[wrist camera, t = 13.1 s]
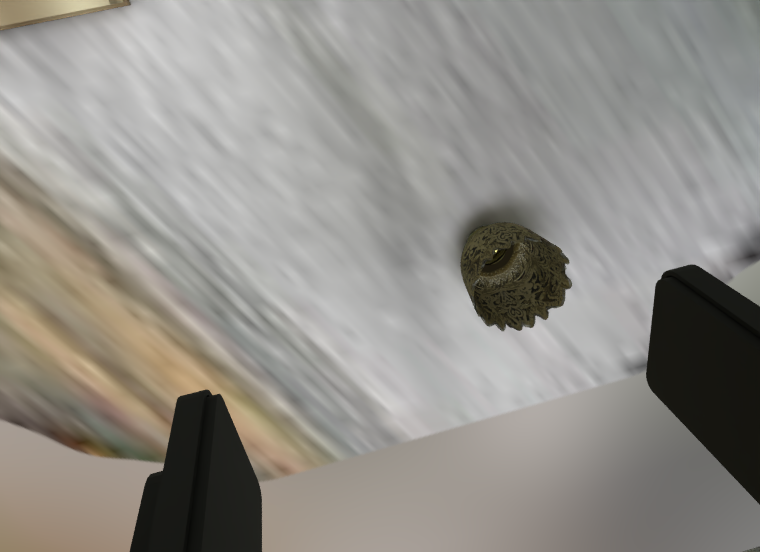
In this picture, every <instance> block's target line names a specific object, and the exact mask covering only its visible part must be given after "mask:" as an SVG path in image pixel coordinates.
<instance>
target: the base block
mask: <svg viewBox="0 0 760 552" xmlns="http://www.w3.org/2000/svg"><path fill="white" fill-rule="evenodd" d="M128 5H130V2H129V0H0V30H5V29H11V28H16V27H21V26H26V25H31V24H36V23H41V22H46V21H51V20H56V19H61V18H67V17H72V16H77V15H82V14H87V13H92V12H97V11H102V10H107V9H112V8H117V7H122V6H128Z"/></svg>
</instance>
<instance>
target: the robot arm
mask: <svg viewBox="0 0 760 552" xmlns="http://www.w3.org/2000/svg"><path fill="white" fill-rule="evenodd" d="M646 378H647V382H648V385H649V387H650V389H651V390H652V391H653V393H655V395H656V396H657V397H658V398H659V399H660V400H661V401H662V402H663V403H664V404H665V405H666V406H667V407H668V408H669V409H670V410H671V411H672V413H673V414H674V415H675V416H676V417H677V418H678V419H679V420H680V421H681V422H682V423H683V424H684V425H685V426H686V427H687V428H688V429H689V430H690V432H692V434H693V435H694V436H695V437H696V438H697V439H698V440H699V441H700V442H701V443H702V444H703V445H704V446H705V447H706V448H707V449H708V450H709V452H711V454H713V456H714V457H715V458H716V459H717V460H718V461H719V462H720V463H721V464H722V465H723V466H724V467H725V468H726V469H727V471H728V472H729V473H730V474H731V475H732V476H733V477H734V478H735V479H736V480H737V481H738V482H739V483H740V484H741V485H742V486H743V487H744V488H745V489H746V491H747V492H748V493H749V494H750V495H751V496H752V497H753V498H754V499H755V500H756V501H757V502H758V503H759V504H760V307H759V306H758V305H757V304H755V303H753V302H752V301H750V300H749V299H747V298H746V297H744V296H743V295H741V294H740V293H738V292H737V291H735V290H734V289H732V288H731V287H729V286H728V285H726V284H725V283H723V282H722V281H720V280H719V279H717V278H715V277H714V276H712V275H711V274H709V273H708V272H706V271H705V270H703V269H702V268H700V267H699V266H696V265H687V266H683V267H680V268H676V269H672V270H668V271H666V272H664V273H663V275H662V278H661V279H660V280H658V282H657V283H656V287H655V296H654V306H653V315H652V325H651V334H650V343H649V353H648V362H647V372H646ZM130 552H262V497H261V490H260V486H259V483H258V480H257V477H256V475H255V473H254V470H253V468H252V466H251V463H250V461H249V459H248V456H247V454H246V452H245V449H244V447H243V445H242V442H241V440H240V437H239V435H238V433H237V430H236V428H235V426H234V423H233V421H232V419H231V416H230V414H229V412H228V409H227V407H226V405H225V402H224V400H223V398H222V396H221V395H220V394H217V395H213V396H212V394H211V392H210V391H209V390H203V391H199V392H195V393H191V394H187V395H183V396H180V397H179V398H178V399H177V402H176V408H175V413H174V418H173V423H172V428H171V433H170V438H169V443H168V448H167V453H166V458H165V463H164V468H163V471H161V472H157V473H153V474H151V475H150V476H149V477H148V478H147V481H146V483H145V487H144V491H143V495H142V500H141V504H140V509H139V513H138V517H137V522H136V526H135V531H134V535H133V539H132V544H131V548H130ZM743 552H760V547H757V548H754V549H750V550H747V551H743Z"/></svg>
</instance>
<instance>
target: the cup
mask: <svg viewBox="0 0 760 552" xmlns="http://www.w3.org/2000/svg"><path fill="white" fill-rule="evenodd" d="M565 264H567V265H568V264H569V259H568V258H567V257H566V256H565V255H564V254H563V253H562V250H561V249H560V248H559V247H557V246H556V245H554V244H552V243H550V242H549V241H547V240H545V239H544V238H542V237H541V236H539V235H538V234H536V233H534V232H533V231H531V230H529V229H527V228H525V227H523V226H520V225H517V224H513V223H506V222H504V223H494V224H491V225H485V226H481V227H479V228H477V229H476V230H474V231H473V232H472V233H471V235H470V236H469V238H468V240H467V243H466V245H465V247H464V250H463V253H462V257H461V273H462V277H463V281H464V283H465V286H466V289H467V291H468V294H469V296H470V298H471V301H472V303H473V305H474V308H475V310H476V312H477V314H478V316H480V317H481V318H482V320H483V321H484V323H485V324H486V325H487V326H489V327H490V326H492V325H494V324H496V326H497V327H498V328H499V329H500V330H501V331H504V330H505V328H506V324H507V325H508V326H509V327H510V328H514V329H516V330H518V331H520V330H522V327H523V326H525V327H529V328H532V327H533V326H534V324H535V315H537V317H538V316H539V317H541V318H542V319H543V320H546V319H547V318H548V313H549V312H548V311H547V310H549V309H551V308H558V307H561V306H562V305H563V304H564V301H565V289H570V288H571V286H572V282H571V280H570V279H569V278H568V277H567V276H566V274H565V270H566V266H565Z"/></svg>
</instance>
